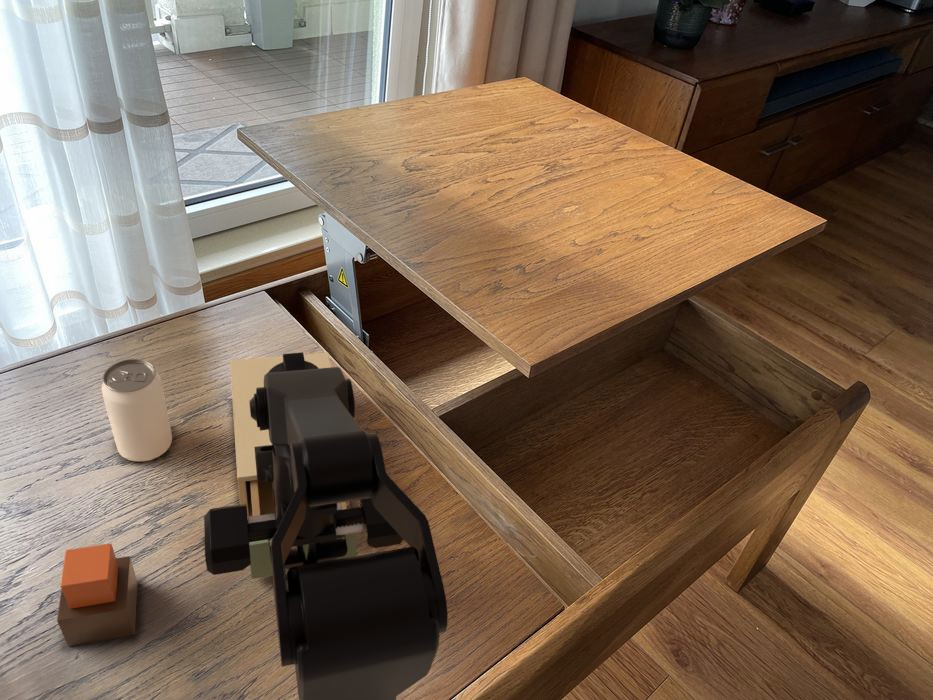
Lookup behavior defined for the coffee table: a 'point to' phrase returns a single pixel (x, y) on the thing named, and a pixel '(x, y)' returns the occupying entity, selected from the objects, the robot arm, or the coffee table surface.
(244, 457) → the cabinet
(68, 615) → the brown cube
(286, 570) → the drawer
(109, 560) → the block
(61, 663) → the coffee table surface
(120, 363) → the can
